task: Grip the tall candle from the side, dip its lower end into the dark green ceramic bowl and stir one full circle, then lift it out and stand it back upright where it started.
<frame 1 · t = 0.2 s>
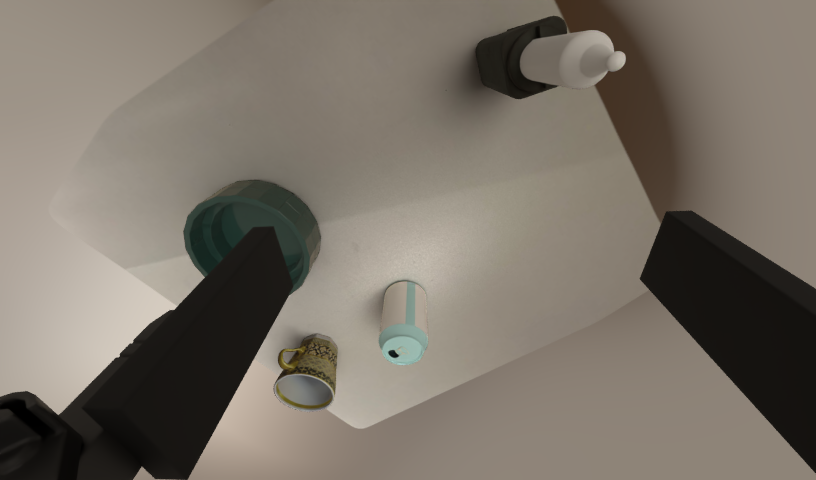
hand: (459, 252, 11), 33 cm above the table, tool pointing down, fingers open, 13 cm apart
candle: (500, 59, 37), on the table
can: (405, 294, 55), on the table
ceramic cup: (316, 340, 61), on the table
bowl: (267, 230, 49), on the table
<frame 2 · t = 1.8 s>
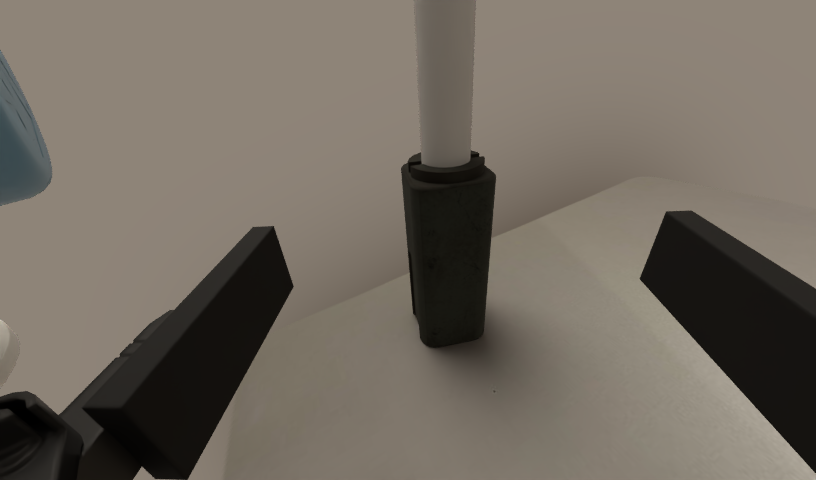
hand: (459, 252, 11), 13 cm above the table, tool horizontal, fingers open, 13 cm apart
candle: (446, 321, 26), on the table
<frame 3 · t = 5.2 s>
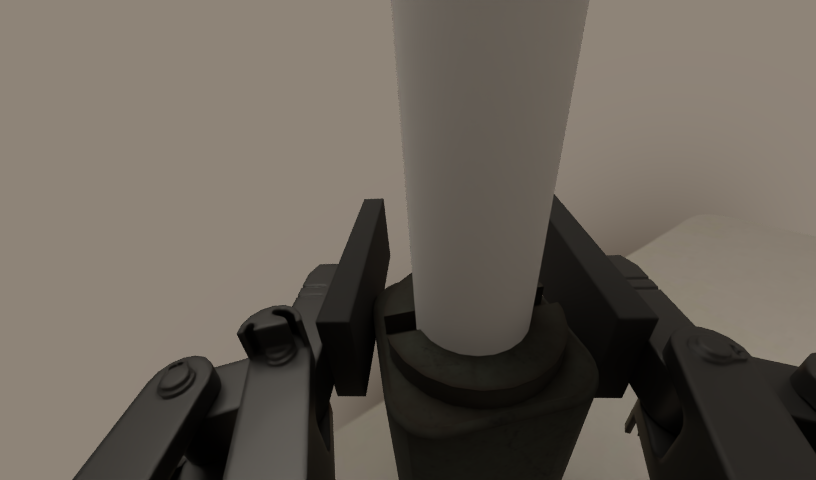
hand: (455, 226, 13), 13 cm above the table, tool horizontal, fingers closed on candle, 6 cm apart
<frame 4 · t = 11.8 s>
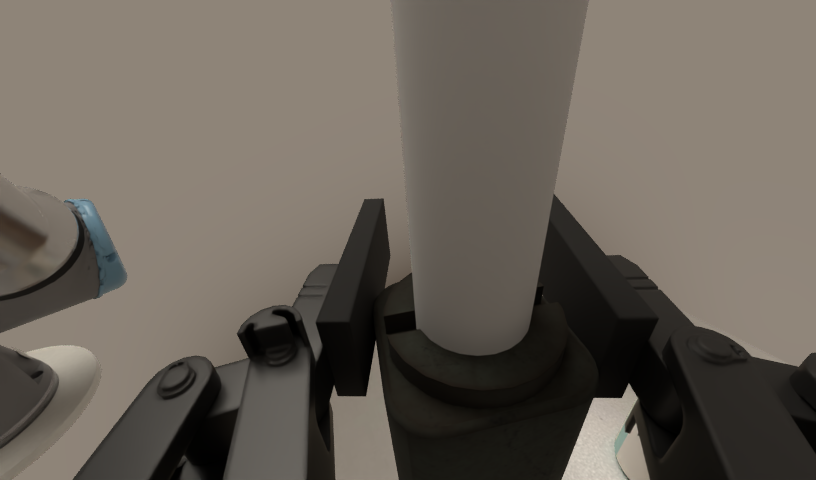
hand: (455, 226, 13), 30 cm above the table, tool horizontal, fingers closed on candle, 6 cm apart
can: (653, 467, 31), on the table
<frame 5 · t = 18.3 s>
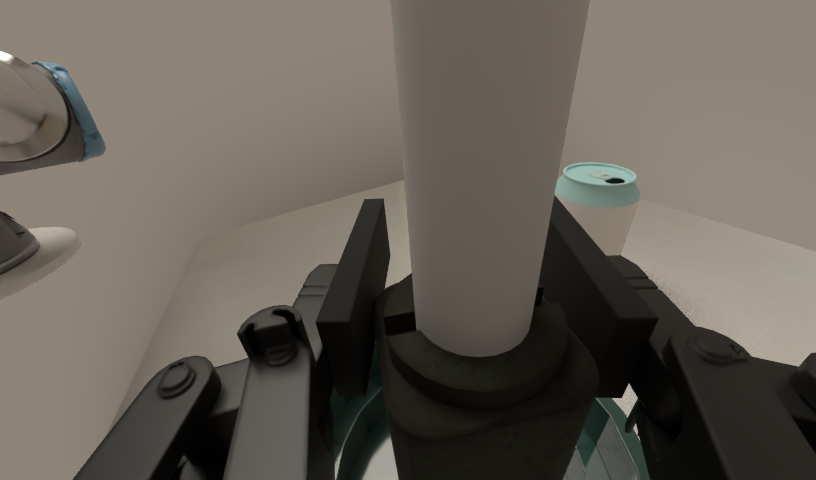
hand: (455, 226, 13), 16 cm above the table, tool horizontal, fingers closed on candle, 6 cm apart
can: (571, 279, 35), on the table
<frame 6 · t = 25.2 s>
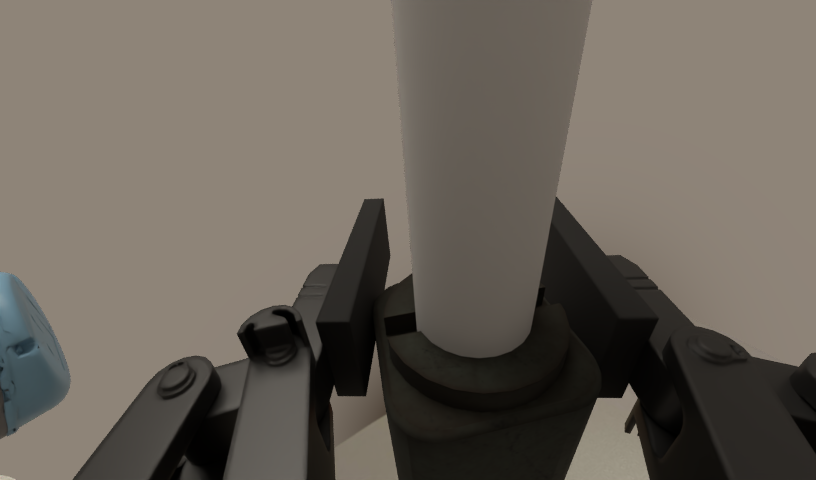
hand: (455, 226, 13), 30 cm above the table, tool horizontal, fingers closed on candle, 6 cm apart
when the fingers open (13 cm above the table, at t = 31.2 s): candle stays where it is, on the table.
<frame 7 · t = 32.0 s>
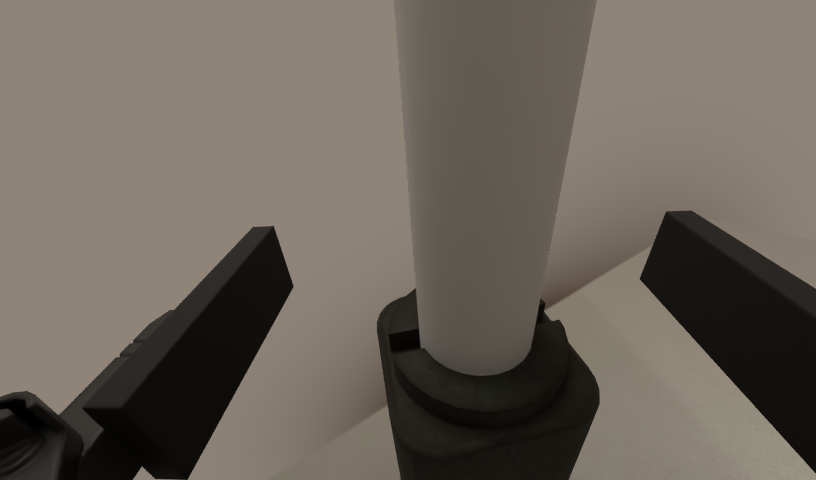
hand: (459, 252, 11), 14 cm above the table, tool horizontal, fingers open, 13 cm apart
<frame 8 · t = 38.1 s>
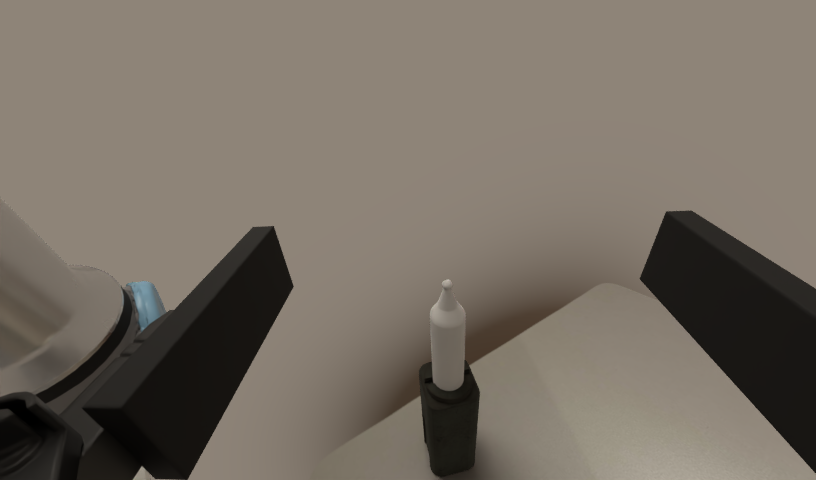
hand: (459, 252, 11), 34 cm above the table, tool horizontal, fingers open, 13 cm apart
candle: (448, 449, 37), on the table
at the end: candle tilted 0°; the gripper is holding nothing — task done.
